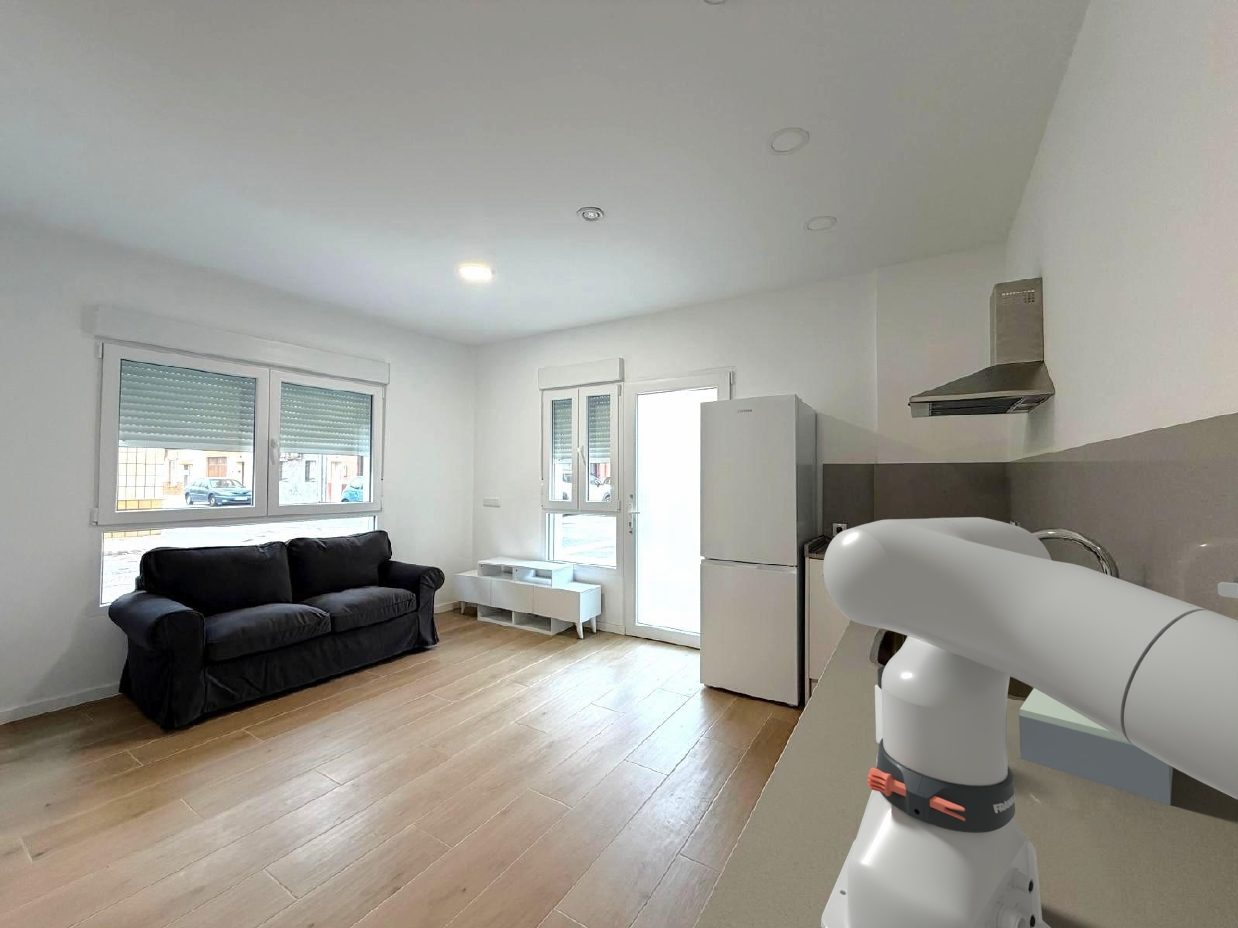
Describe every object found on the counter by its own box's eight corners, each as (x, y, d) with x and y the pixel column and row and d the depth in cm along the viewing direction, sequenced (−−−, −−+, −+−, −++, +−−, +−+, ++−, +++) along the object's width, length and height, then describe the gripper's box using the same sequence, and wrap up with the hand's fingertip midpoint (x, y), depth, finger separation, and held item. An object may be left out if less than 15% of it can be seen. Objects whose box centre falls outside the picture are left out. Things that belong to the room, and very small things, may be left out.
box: (1170, 808, 68) (1167, 754, 69) (1020, 760, 80) (1018, 715, 81) (1173, 764, 79) (1170, 718, 79) (1040, 728, 91) (1039, 688, 91)
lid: (1169, 761, 69) (1163, 647, 70) (1020, 721, 81) (1016, 625, 81) (1169, 723, 80) (1164, 626, 81) (1038, 693, 91) (1034, 608, 92)
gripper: (1415, 648, 52) (1209, 618, 64) (1421, 620, 63) (1244, 599, 74) (1410, 584, 52) (1206, 567, 64) (1417, 568, 63) (1241, 556, 75)
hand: (1227, 584), depth 69 cm, fingers open, 8 cm apart
